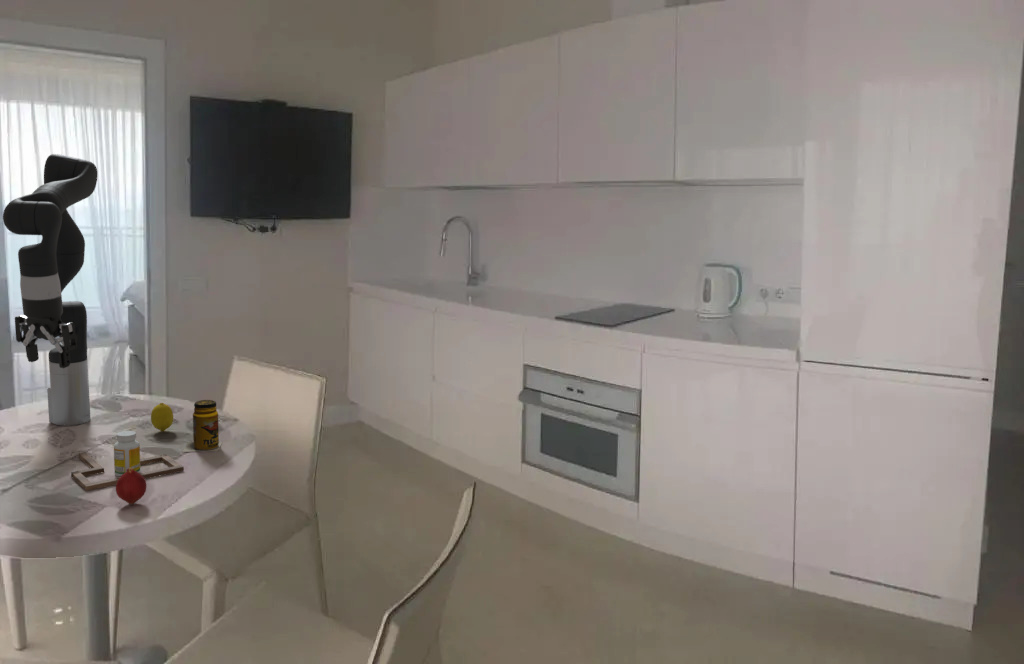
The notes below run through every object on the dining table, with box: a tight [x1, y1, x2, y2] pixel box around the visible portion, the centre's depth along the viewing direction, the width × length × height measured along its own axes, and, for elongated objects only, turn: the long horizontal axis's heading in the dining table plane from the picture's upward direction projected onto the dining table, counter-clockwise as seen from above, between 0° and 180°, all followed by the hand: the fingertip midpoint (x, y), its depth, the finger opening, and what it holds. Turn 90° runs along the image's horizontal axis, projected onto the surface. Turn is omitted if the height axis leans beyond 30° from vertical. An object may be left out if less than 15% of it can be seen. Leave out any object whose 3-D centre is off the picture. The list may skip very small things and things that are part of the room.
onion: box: [115, 468, 147, 505], centre depth 169 cm, size 6×6×8 cm
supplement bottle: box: [113, 430, 141, 478], centre depth 186 cm, size 5×5×10 cm
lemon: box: [150, 402, 174, 433], centre depth 217 cm, size 6×6×8 cm
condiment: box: [182, 399, 223, 453], centre depth 206 cm, size 7×8×12 cm
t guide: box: [70, 451, 185, 492], centre depth 191 cm, size 24×21×1 cm
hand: (49, 364), depth 180 cm, fingers open, 8 cm apart
